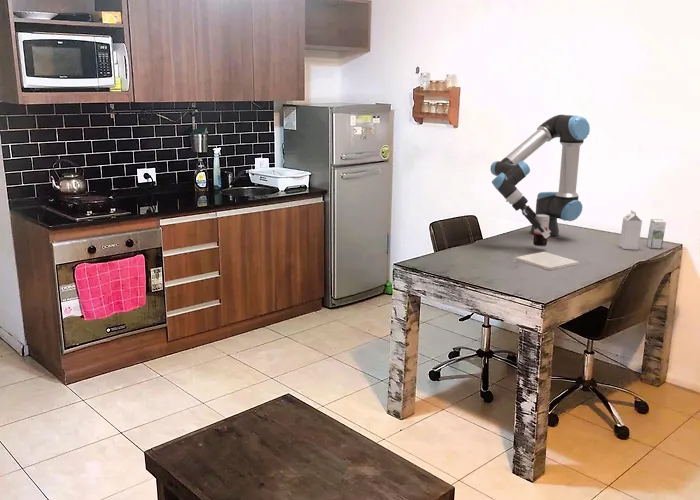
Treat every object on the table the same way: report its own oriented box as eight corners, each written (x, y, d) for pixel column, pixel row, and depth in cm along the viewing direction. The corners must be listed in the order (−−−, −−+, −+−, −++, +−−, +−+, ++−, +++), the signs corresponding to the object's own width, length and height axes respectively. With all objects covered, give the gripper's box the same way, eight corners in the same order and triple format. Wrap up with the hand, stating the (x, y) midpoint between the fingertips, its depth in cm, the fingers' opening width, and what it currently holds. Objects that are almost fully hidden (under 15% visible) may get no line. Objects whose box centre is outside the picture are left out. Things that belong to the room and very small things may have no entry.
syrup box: (657, 246, 334) (662, 218, 330) (662, 249, 328) (666, 221, 324) (646, 245, 334) (650, 218, 330) (650, 248, 329) (654, 220, 325)
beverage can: (547, 247, 317) (550, 217, 313) (533, 246, 318) (536, 216, 314) (546, 243, 323) (548, 214, 319) (532, 243, 324) (535, 213, 320)
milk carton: (633, 246, 332) (638, 210, 327) (638, 250, 325) (643, 213, 320) (619, 245, 333) (624, 209, 328) (623, 249, 326) (628, 212, 321)
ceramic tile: (515, 259, 303) (515, 257, 303) (543, 254, 314) (544, 251, 314) (549, 270, 287) (549, 267, 287) (578, 264, 298) (578, 261, 298)
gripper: (513, 201, 329) (543, 235, 328) (509, 208, 311) (541, 244, 310) (524, 192, 326) (555, 226, 325) (521, 198, 308) (553, 234, 307)
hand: (548, 235), depth 318 cm, fingers closed on beverage can, 6 cm apart
